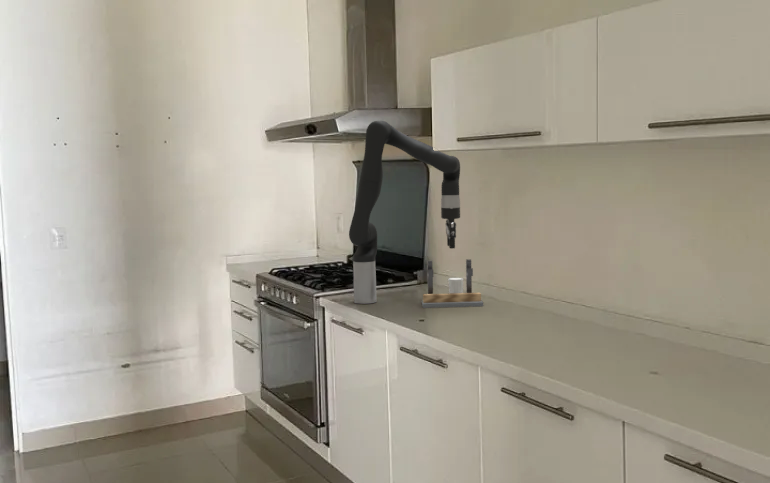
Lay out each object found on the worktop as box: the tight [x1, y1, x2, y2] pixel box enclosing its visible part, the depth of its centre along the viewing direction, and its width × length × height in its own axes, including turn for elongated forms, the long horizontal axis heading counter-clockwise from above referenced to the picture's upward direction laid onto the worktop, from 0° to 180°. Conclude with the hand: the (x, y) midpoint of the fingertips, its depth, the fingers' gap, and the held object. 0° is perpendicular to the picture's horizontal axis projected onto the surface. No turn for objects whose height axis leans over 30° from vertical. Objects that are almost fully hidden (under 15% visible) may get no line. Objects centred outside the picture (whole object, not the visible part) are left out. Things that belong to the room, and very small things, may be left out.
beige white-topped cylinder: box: [447, 277, 465, 293], centre depth 329 cm, size 7×7×7 cm
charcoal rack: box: [426, 258, 474, 294], centre depth 312 cm, size 19×6×17 cm, turn 90°
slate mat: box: [421, 299, 484, 309], centre depth 305 cm, size 24×8×2 cm, turn 90°
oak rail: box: [422, 292, 482, 303], centre depth 305 cm, size 23×3×3 cm, turn 90°
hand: (451, 247), depth 303 cm, fingers open, 8 cm apart
